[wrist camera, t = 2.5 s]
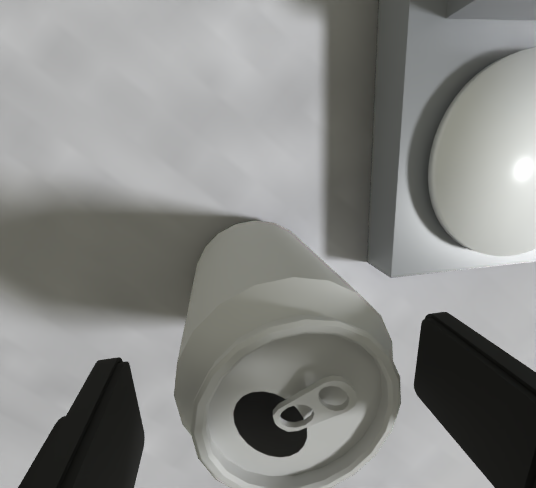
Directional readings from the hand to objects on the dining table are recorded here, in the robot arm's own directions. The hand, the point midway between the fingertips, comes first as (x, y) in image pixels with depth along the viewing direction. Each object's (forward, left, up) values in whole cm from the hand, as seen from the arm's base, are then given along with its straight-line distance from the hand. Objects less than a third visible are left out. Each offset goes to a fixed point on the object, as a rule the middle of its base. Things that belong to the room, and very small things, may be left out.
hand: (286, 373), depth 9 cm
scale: (+8, -15, -11) cm, 20 cm away
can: (-1, 0, -11) cm, 11 cm away
